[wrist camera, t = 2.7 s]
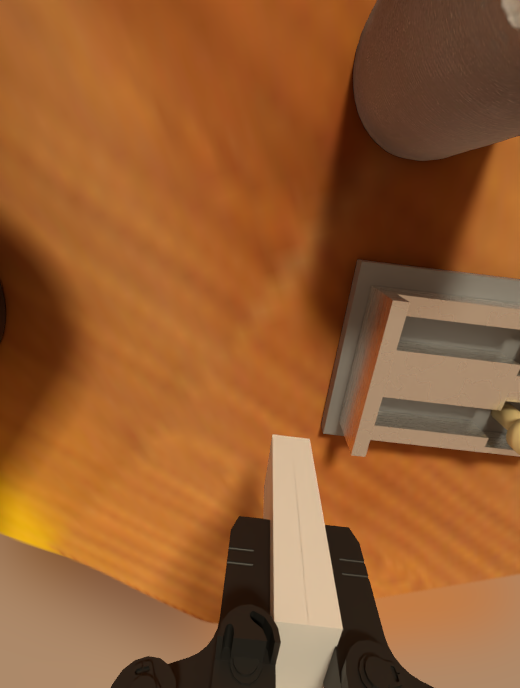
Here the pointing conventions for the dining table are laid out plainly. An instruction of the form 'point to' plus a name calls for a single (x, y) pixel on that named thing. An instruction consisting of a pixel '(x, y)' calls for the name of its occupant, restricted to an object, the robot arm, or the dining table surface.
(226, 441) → the dining table surface
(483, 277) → the board
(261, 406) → the dining table surface
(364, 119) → the pillar candle
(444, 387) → the keyhole panel
